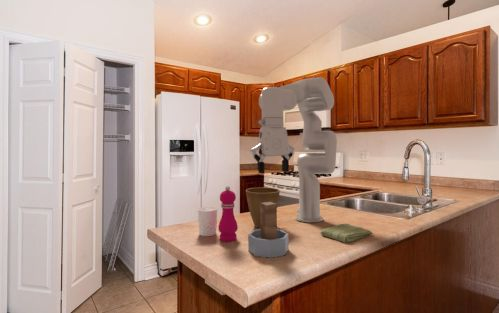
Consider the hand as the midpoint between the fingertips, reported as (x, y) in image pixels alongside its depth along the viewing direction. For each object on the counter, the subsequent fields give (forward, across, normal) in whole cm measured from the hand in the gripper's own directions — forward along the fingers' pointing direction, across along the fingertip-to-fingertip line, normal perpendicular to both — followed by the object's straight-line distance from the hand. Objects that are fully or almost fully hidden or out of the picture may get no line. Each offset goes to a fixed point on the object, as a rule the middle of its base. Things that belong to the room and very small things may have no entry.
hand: (273, 172), depth 100 cm
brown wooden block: (+25, -5, -5) cm, 26 cm away
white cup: (+26, -18, +22) cm, 39 cm away
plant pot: (+26, +7, +22) cm, 35 cm away
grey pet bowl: (+25, -6, -5) cm, 26 cm away
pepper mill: (+26, -13, +12) cm, 31 cm away
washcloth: (+27, +30, -4) cm, 40 cm away
